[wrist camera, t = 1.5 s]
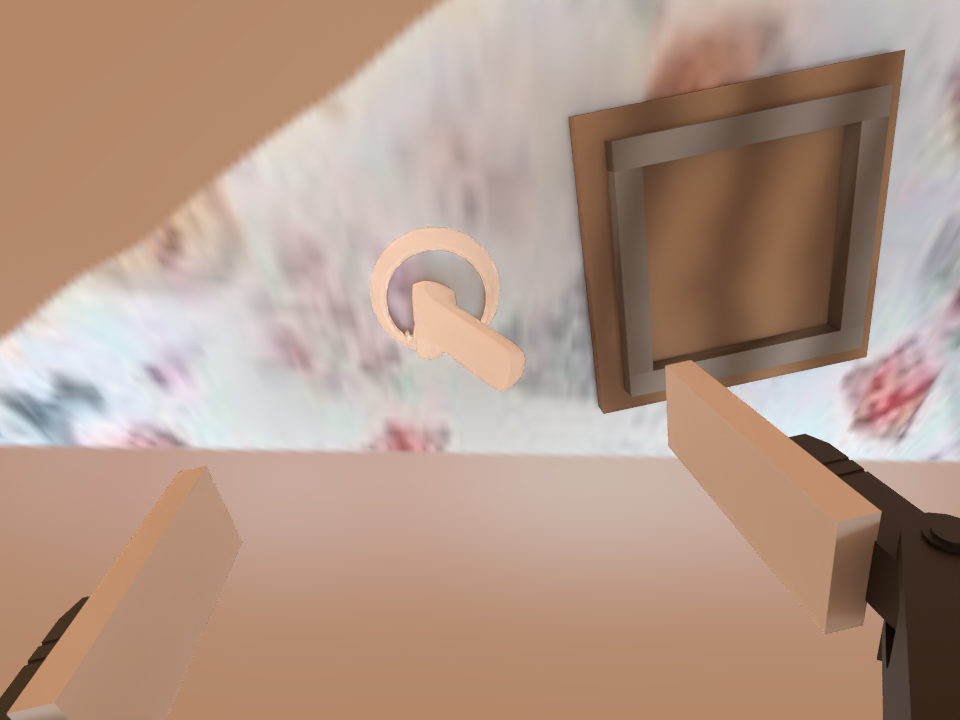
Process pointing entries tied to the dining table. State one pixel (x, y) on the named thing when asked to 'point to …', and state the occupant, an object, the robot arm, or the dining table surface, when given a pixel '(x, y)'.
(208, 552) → the robot arm
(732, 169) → the picture frame
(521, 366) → the hook
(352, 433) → the dining table surface
